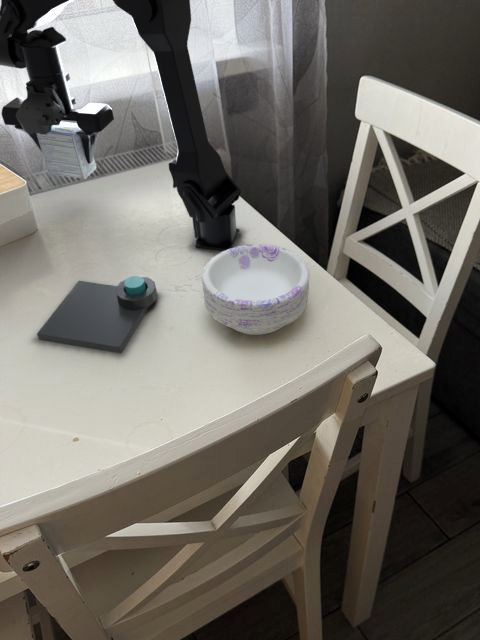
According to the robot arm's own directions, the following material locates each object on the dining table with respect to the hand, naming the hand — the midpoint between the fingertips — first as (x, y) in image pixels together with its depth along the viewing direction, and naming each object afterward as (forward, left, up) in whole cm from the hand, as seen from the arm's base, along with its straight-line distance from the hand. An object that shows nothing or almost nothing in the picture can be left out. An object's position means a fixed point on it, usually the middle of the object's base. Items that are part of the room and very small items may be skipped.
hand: (69, 160), depth 109 cm
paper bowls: (-42, +25, -9) cm, 50 cm away
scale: (-19, +31, -8) cm, 37 cm away
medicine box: (0, 0, -2) cm, 2 cm away
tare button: (-23, +26, -6) cm, 36 cm away
